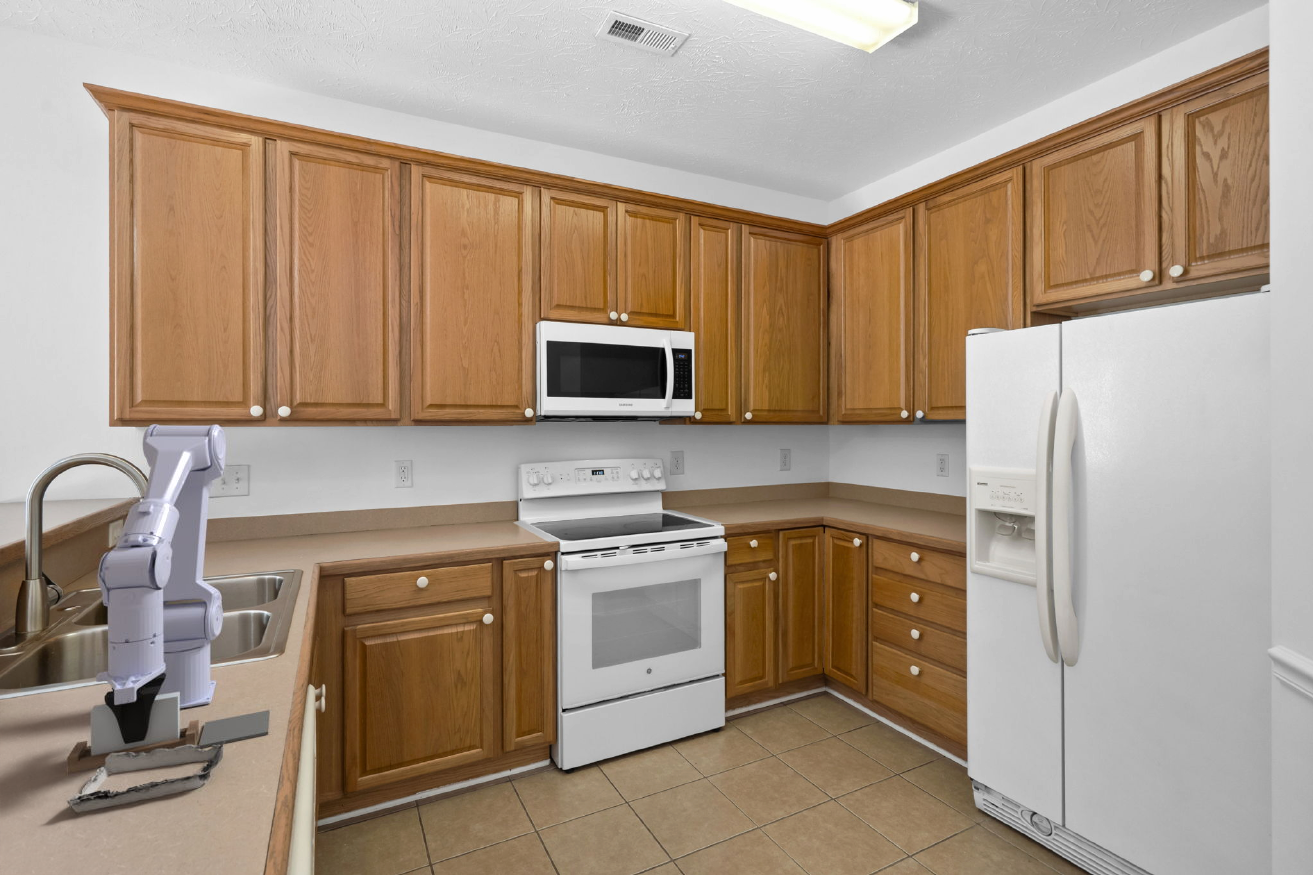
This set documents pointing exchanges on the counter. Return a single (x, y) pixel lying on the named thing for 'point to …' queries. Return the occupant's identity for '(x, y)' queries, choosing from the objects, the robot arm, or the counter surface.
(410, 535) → the counter surface
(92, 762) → the rack
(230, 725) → the mat
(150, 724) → the board
